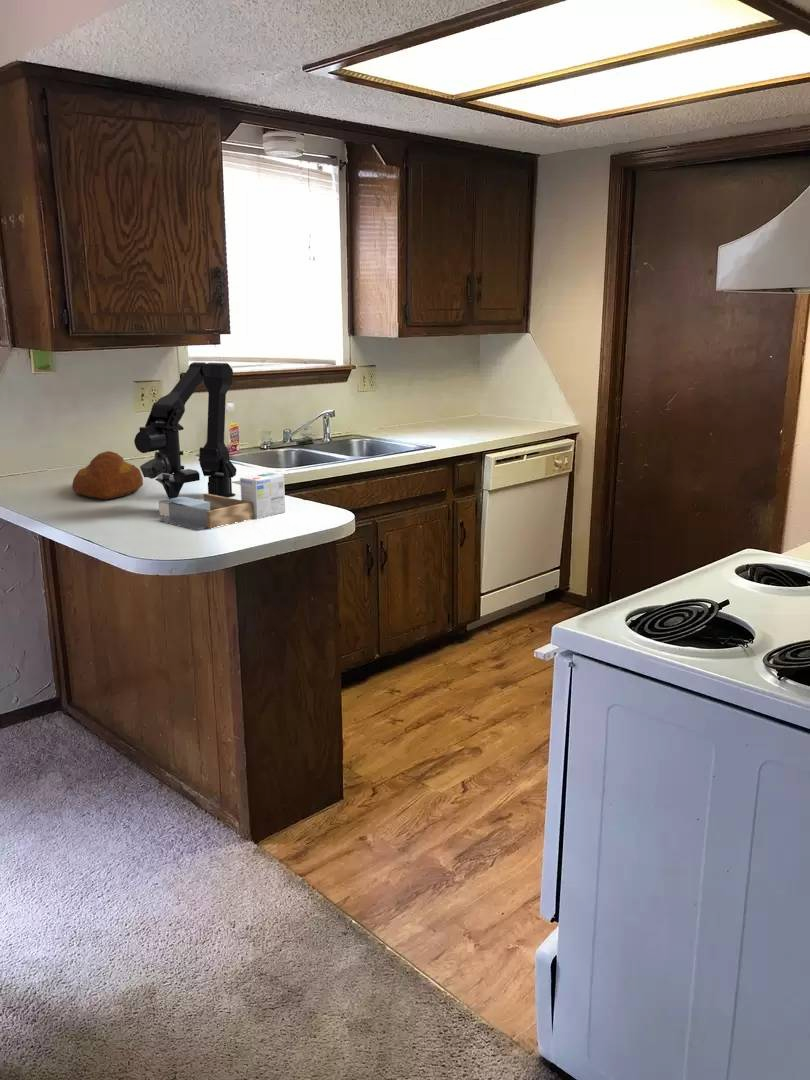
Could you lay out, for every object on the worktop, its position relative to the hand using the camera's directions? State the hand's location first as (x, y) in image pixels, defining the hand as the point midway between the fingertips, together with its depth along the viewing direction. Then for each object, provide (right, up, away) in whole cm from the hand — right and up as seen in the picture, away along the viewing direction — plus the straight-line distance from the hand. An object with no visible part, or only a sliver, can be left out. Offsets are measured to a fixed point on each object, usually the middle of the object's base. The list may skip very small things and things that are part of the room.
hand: (172, 503), depth 240 cm
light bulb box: (+26, -3, -4) cm, 27 cm away
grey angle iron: (+7, -6, -15) cm, 18 cm away
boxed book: (+5, -4, -5) cm, 8 cm away
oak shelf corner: (+13, -5, -9) cm, 16 cm away
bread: (-27, +4, +26) cm, 38 cm away
